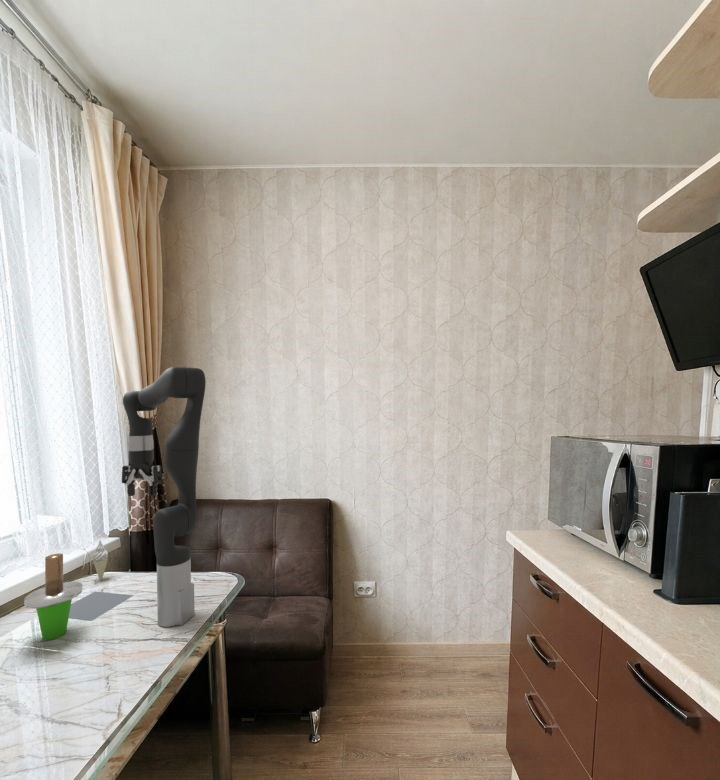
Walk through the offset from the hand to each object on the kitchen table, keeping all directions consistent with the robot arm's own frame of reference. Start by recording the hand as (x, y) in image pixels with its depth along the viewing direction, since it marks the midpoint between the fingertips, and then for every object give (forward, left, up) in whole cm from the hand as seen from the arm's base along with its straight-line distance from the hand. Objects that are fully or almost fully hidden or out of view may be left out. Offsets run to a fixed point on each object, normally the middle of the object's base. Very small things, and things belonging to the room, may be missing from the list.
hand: (141, 496), depth 137 cm
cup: (+6, +26, -33) cm, 43 cm away
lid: (+6, +26, -22) cm, 35 cm away
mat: (+10, +10, -33) cm, 36 cm away
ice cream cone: (+24, -6, -33) cm, 41 cm away
